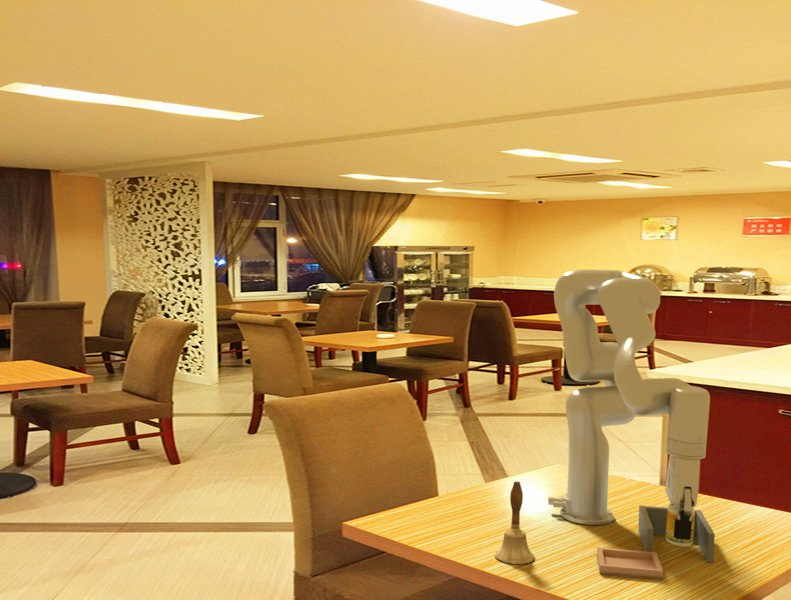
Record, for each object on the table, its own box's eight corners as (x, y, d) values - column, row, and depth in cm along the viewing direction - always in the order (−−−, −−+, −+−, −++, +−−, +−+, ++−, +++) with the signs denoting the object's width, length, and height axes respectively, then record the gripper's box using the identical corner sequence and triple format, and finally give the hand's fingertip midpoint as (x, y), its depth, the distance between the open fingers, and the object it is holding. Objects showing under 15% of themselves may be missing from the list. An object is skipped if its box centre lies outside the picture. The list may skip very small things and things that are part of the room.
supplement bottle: (683, 535, 165) (686, 491, 164) (698, 546, 160) (701, 500, 159) (660, 537, 164) (663, 492, 163) (674, 547, 159) (678, 501, 158)
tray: (599, 574, 157) (600, 565, 156) (596, 555, 166) (597, 547, 166) (662, 580, 154) (663, 571, 154) (656, 560, 164) (656, 552, 164)
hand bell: (492, 549, 169) (494, 476, 168) (531, 550, 169) (533, 477, 168) (496, 564, 161) (498, 487, 160) (537, 565, 160) (539, 488, 160)
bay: (646, 556, 166) (647, 528, 166) (638, 531, 182) (639, 505, 181) (713, 562, 164) (714, 534, 163) (699, 536, 179) (700, 510, 179)
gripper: (661, 434, 169) (655, 515, 171) (673, 457, 152) (666, 547, 154) (698, 437, 168) (691, 519, 170) (714, 461, 151) (706, 551, 153)
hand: (679, 531), depth 162 cm, fingers closed on supplement bottle, 5 cm apart
